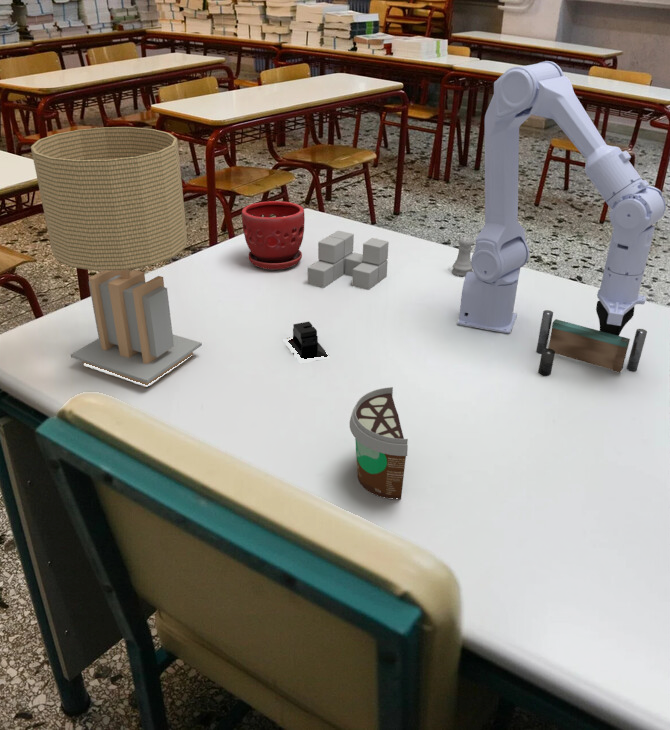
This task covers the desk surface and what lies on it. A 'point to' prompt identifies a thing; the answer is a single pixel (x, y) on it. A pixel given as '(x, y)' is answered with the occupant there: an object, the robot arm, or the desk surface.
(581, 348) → the open box
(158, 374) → the desk lamp
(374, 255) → the grey cube structure
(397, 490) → the food container
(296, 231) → the plant pot
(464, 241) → the rook chess piece
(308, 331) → the black stepped block
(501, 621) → the desk surface
